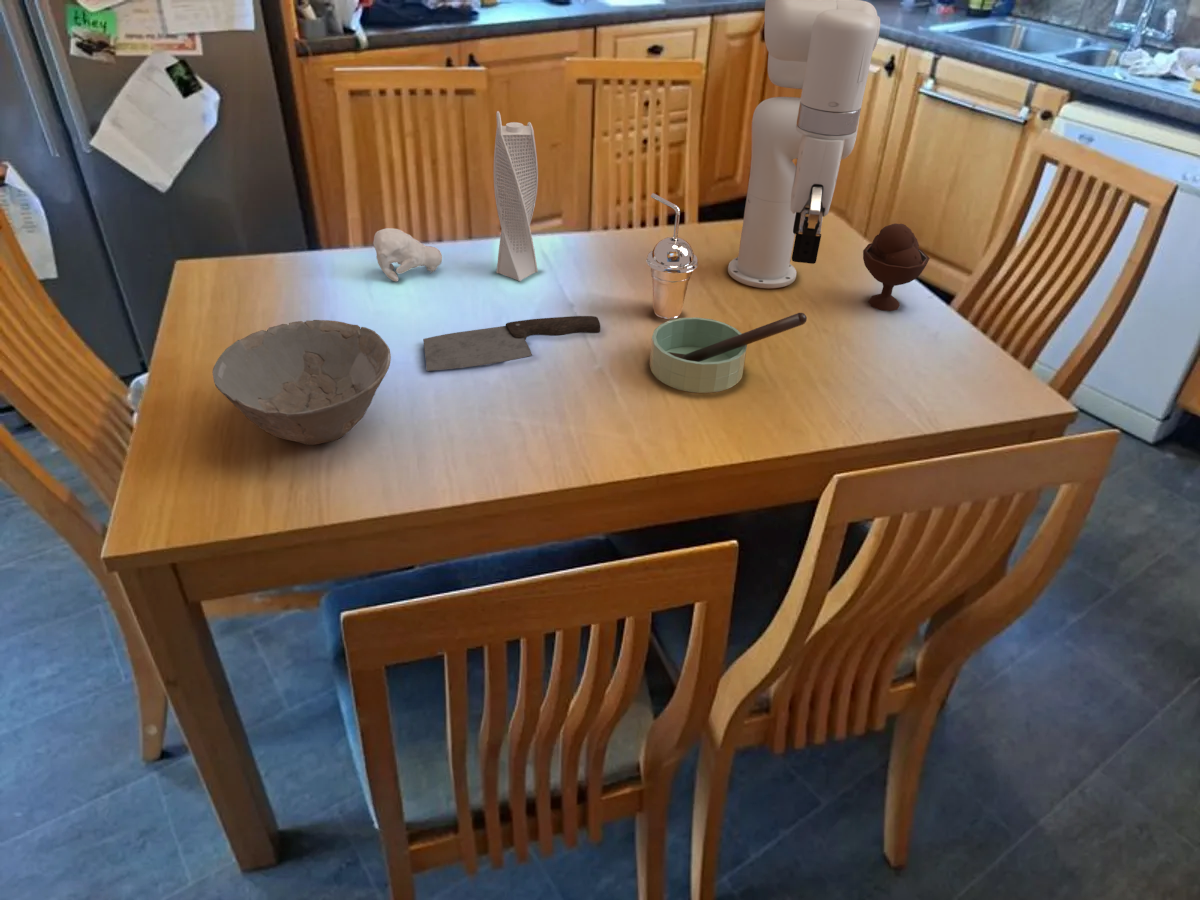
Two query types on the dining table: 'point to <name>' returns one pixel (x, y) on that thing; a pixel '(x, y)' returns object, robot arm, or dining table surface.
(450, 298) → the dining table surface
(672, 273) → the cup with straw
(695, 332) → the bowl
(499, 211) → the skyscraper
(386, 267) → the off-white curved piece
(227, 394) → the ceramic bowl
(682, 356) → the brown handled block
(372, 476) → the dining table surface
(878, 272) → the ice cream bowl
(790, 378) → the dining table surface
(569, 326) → the cleaver
